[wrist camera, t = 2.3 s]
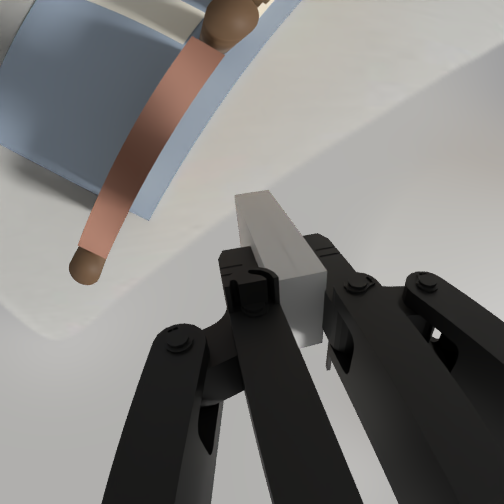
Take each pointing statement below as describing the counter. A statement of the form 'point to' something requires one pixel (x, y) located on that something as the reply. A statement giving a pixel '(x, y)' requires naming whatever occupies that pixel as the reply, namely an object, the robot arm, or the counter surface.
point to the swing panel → (141, 155)
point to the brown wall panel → (229, 22)
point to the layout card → (110, 83)
